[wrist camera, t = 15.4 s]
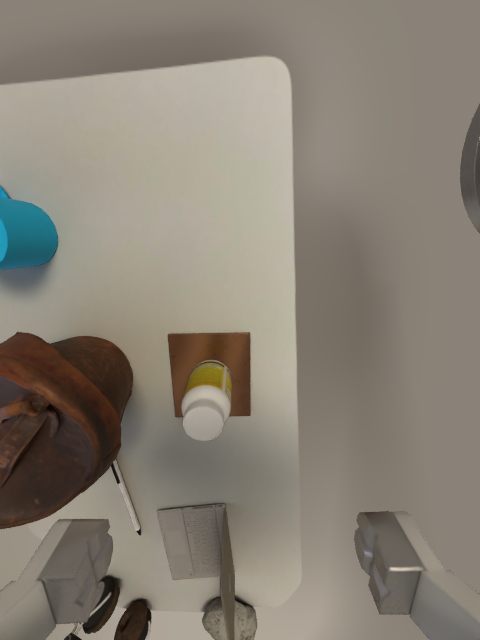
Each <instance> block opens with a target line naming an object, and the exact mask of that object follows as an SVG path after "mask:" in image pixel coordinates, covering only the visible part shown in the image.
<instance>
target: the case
mask: <svg viewBox="0 0 480 640" xmlns="http://www.w3.org/2000/svg"><path fill="white" fill-rule="evenodd" d="M132 382H133V376H132V370H131V367H130V364H129V362H128V360H127V358H126V356H125V355H124V353H123V352H122V351H121V350H120V349H119V348H118V347H117V346H116V345H114V344H113V343H111V342H109V341H107V340H105V339H101V338H97V337H91V336H78V337H73V338H69V339H66V340H62V341H59V342H55V343H51V344H49V343H47V342H45V341H44V340H43V339H42V338H40V337H38V336H35V335H33V334H29V333H23V332H17V333H16V334H15V335H14V336H12V337H11V338H9V339H8V340H6V341H4V342H3V343H1V344H0V529H5V528H11V527H16V526H20V525H24V524H27V523H31V522H34V521H38V520H40V519H43V518H46V517H48V516H50V515H52V514H53V513H55V512H57V511H58V510H59V509H61V508H62V507H64V506H65V505H67V504H68V503H69V502H70V501H72V500H73V499H74V498H75V497H76V496H78V495H79V494H80V493H82V492H84V491H85V490H87V489H88V488H89V487H90V486H91V485H93V484H94V483H95V482H96V481H97V480H98V479H99V478H100V477H101V476H102V475H103V474H104V473H105V472H106V471H107V470H108V469H109V467H110V466H111V465H112V463H113V461H114V460H115V458H116V456H117V454H118V452H119V450H120V448H121V426H120V423H121V420H122V416H123V413H124V410H125V406H126V403H127V401H128V399H129V397H130V395H131V388H132Z"/></svg>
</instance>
